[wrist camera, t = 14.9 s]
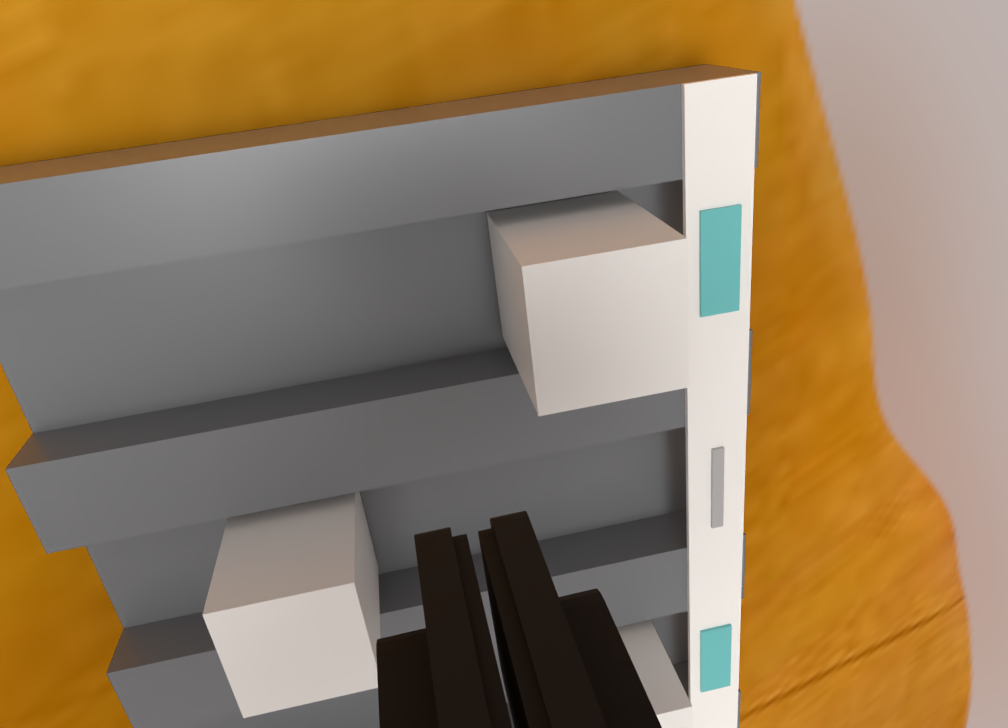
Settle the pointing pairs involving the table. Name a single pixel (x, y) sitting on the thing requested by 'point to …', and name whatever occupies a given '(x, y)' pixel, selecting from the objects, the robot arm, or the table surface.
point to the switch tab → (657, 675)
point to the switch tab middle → (296, 604)
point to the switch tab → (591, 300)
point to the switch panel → (376, 367)
